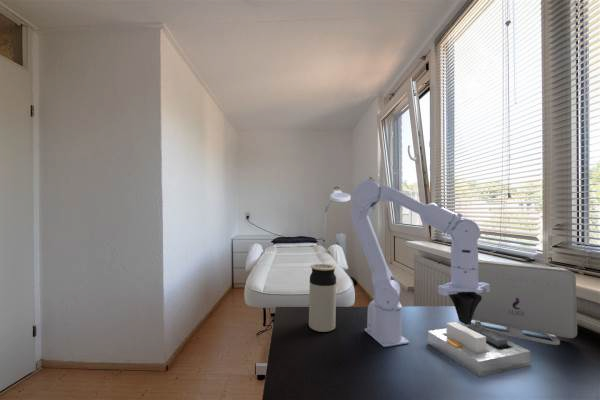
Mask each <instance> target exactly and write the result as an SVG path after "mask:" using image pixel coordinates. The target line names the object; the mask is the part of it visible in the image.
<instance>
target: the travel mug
mask: <svg viewBox="0 0 600 400" xmlns="http://www.w3.org/2000/svg"><path fill="white" fill-rule="evenodd" d="M310 268H311V273H310V275H309V296H308V297H309V301H308V306H309V307H308V311H309V312H308V326H309V328H310V329H311V330H314V331H315V332H320V333H321V332H322V333H327V332H331V331H333V330H334V329H336V312H337V311H336V309H337V308H336V307H337V276H336V274H335V270H336V266H335V265H333V264H328V263H314V264H311V265H310Z"/></svg>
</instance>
